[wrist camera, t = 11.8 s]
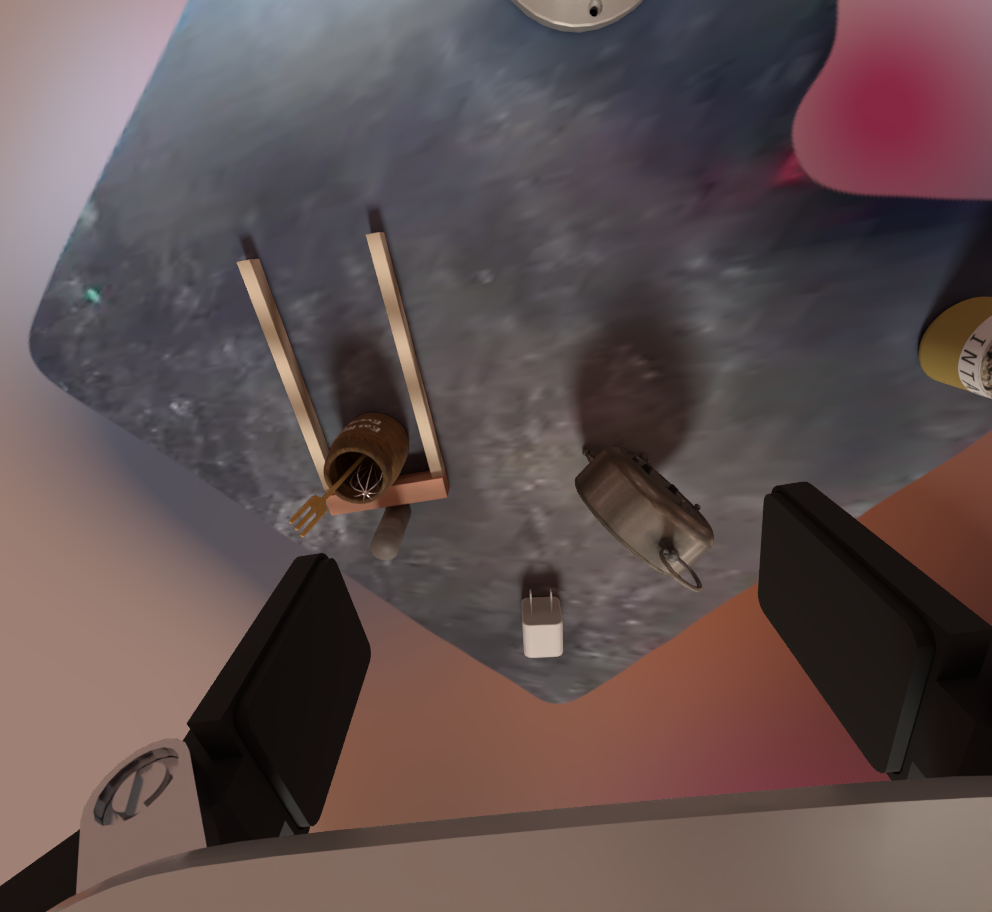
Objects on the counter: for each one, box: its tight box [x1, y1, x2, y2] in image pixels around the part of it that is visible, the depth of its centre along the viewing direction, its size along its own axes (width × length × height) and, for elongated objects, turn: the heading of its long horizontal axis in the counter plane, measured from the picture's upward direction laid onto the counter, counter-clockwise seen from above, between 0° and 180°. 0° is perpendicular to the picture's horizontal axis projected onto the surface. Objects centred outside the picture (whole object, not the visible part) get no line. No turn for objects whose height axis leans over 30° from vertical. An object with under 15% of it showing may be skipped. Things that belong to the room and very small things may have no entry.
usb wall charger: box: [521, 588, 563, 658], centre depth 48 cm, size 4×7×4 cm, turn 4°
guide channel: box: [237, 232, 450, 560], centre depth 38 cm, size 25×11×6 cm, turn 11°
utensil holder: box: [289, 413, 409, 537], centre depth 37 cm, size 6×6×12 cm
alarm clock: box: [575, 445, 714, 592], centre depth 35 cm, size 11×5×16 cm, turn 52°
